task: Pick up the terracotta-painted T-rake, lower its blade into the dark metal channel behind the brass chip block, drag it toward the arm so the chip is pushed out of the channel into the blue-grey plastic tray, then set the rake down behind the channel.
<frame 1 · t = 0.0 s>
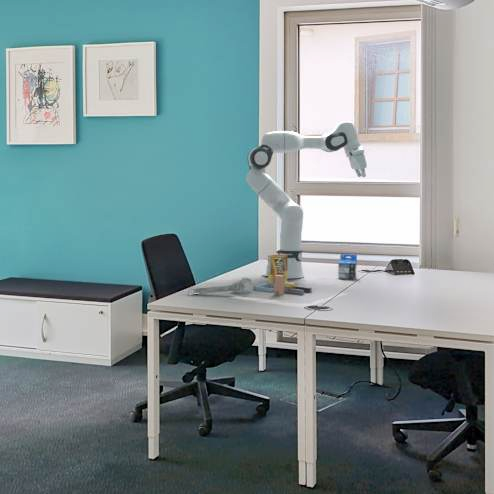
hand: (362, 176, 372), 52 cm above the table, tool tilted 20°, fingers open, 8 cm apart
channel: (293, 295, 322), on the table
tray: (270, 292, 330), on the table
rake: (279, 297, 316), on the table
chip: (289, 291, 323), point 1 cm above the table, touching channel
wrench: (220, 296, 323), on the table
label tape cartridge: (347, 278, 369), on the table
candy box: (277, 286, 346), on the table
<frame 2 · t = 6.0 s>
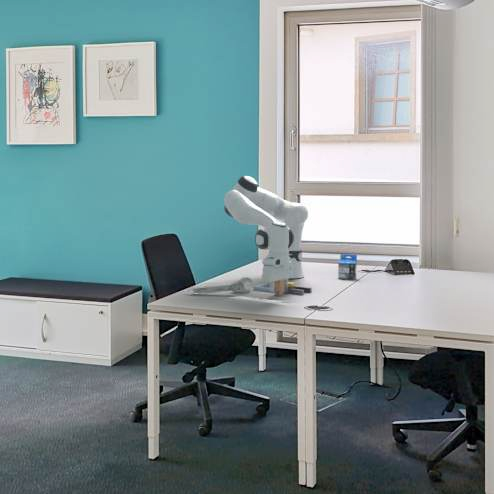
hand: (278, 290, 316), 3 cm above the table, tool pointing down, fingers open, 8 cm apart
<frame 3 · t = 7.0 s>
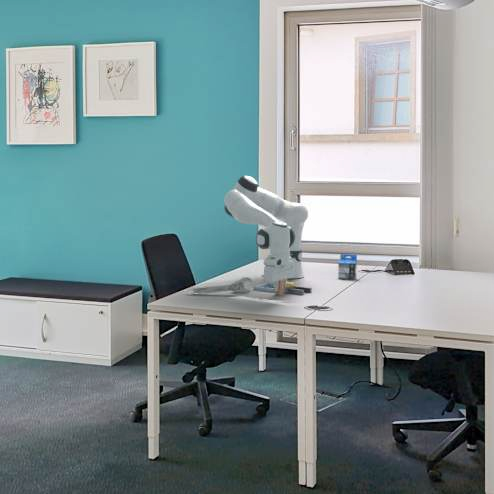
hand: (280, 289, 317), 4 cm above the table, tool pointing down, fingers open, 3 cm apart
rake: (279, 297, 316), on the table, touching gripper
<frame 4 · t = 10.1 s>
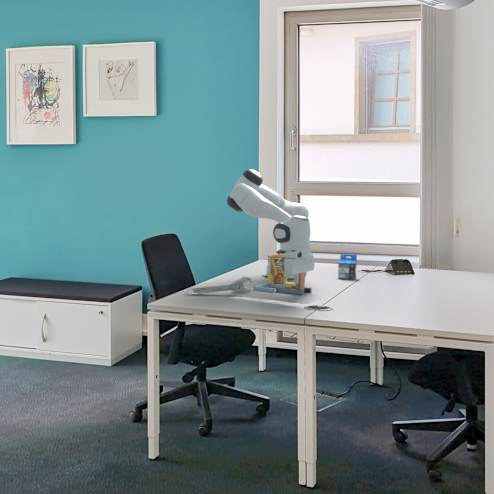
hand: (299, 282, 320), 6 cm above the table, tool pointing down, fingers closed on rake, 3 cm apart
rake: (300, 290, 320), point 3 cm above the table, touching gripper
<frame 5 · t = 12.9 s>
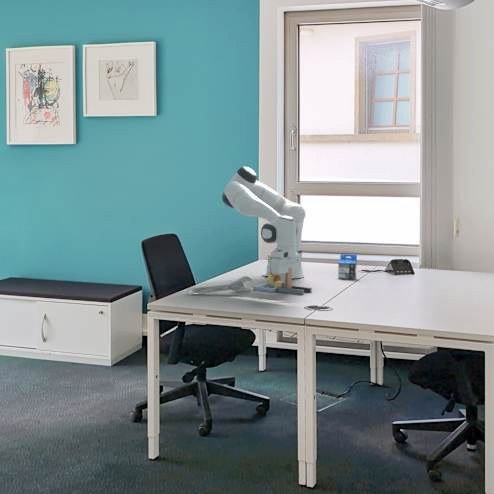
hand: (286, 282, 324), 6 cm above the table, tool pointing down, fingers closed on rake, 3 cm apart
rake: (287, 289, 324), point 2 cm above the table, touching chip, gripper
chip: (280, 290, 326), point 2 cm above the table, touching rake
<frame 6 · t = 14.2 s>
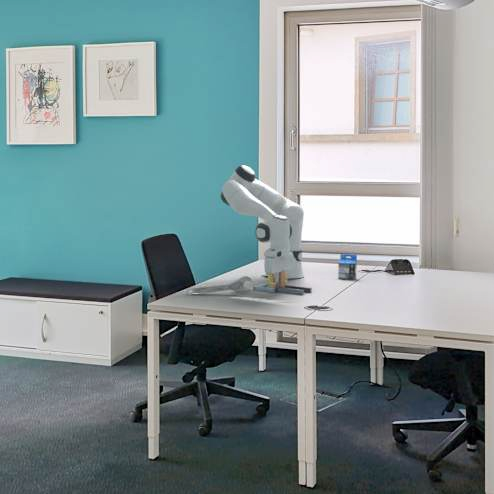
hand: (280, 281, 326), 6 cm above the table, tool pointing down, fingers closed on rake, 3 cm apart
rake: (280, 288, 326), point 2 cm above the table, touching chip, gripper
chip: (274, 291, 328), point 1 cm above the table, touching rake
when the fingers open (4 cm above the table, at t = 19.6 s): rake stays where it is, on the table.
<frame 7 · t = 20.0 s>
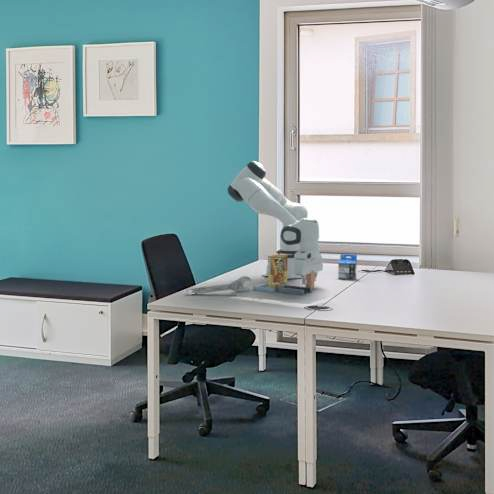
hand: (309, 282, 331), 4 cm above the table, tool pointing down, fingers open, 7 cm apart
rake: (309, 291, 332), on the table
chip: (273, 291, 328), resting on tray
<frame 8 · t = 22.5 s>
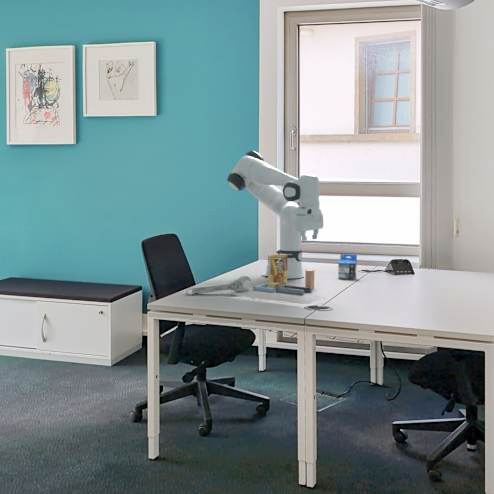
hand: (309, 239, 329), 24 cm above the table, tool pointing down, fingers open, 8 cm apart
at the end: chip inside the target area (2.0 cm from its centre), point 0.5 cm above the table; the gripper is holding nothing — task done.
